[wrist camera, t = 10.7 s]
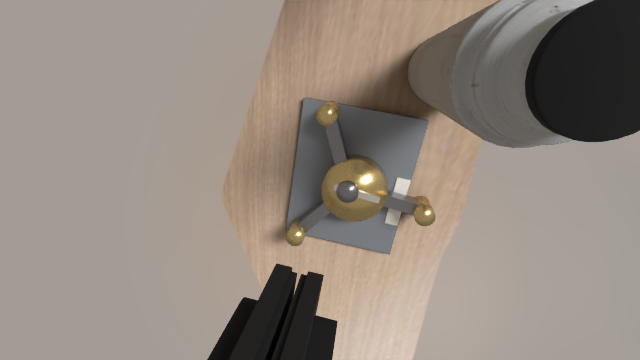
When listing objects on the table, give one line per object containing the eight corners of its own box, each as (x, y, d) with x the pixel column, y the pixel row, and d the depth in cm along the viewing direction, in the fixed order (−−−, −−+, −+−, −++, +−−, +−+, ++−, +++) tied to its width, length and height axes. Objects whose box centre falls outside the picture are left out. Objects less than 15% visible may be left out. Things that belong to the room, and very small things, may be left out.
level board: (305, 97, 40) (303, 98, 39) (427, 120, 38) (429, 121, 37) (287, 227, 47) (285, 231, 46) (389, 250, 45) (389, 255, 44)
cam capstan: (291, 228, 45) (284, 243, 42) (324, 99, 38) (319, 102, 34) (403, 263, 44) (406, 281, 41) (459, 137, 37) (469, 145, 33)
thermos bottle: (477, 99, 36) (733, 175, 10) (409, 108, 38) (485, 193, 12) (478, 27, 34) (821, -108, 8) (405, 40, 35) (492, -37, 10)
